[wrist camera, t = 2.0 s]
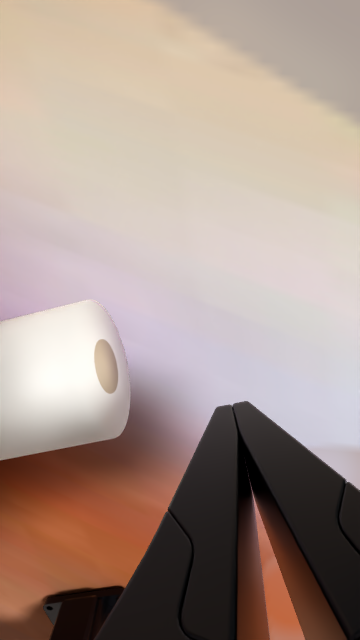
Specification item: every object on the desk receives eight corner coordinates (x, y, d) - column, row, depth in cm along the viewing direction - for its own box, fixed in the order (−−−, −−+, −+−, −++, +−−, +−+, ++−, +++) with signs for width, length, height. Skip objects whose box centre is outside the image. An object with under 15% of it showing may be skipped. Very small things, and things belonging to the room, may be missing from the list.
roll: (104, 286, 15) (51, 325, 9) (138, 388, 17) (111, 473, 11) (-39, 322, 16) (-169, 378, 10) (8, 415, 17) (-80, 508, 12)
